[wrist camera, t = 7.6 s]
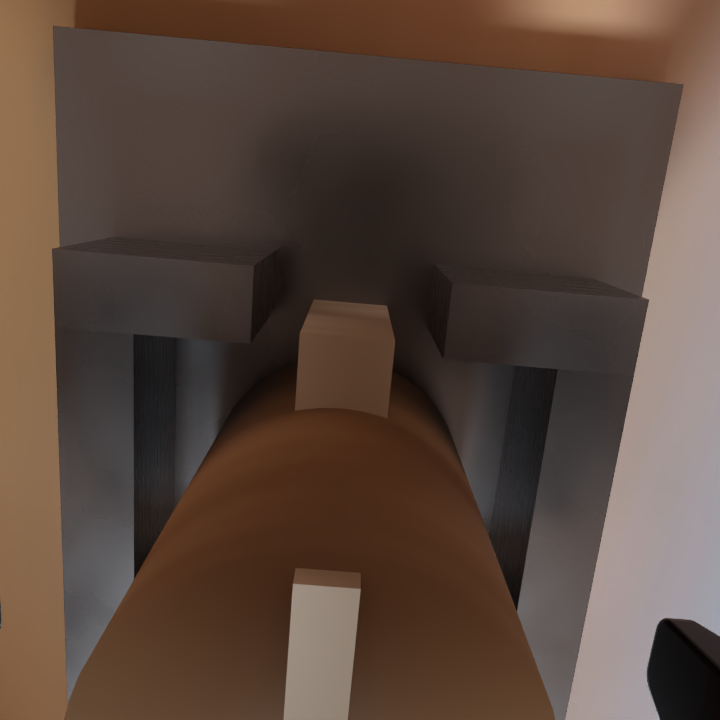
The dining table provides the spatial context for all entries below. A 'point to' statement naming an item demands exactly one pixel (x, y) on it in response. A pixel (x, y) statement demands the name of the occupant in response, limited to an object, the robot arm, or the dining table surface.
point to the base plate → (348, 283)
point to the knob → (321, 563)
